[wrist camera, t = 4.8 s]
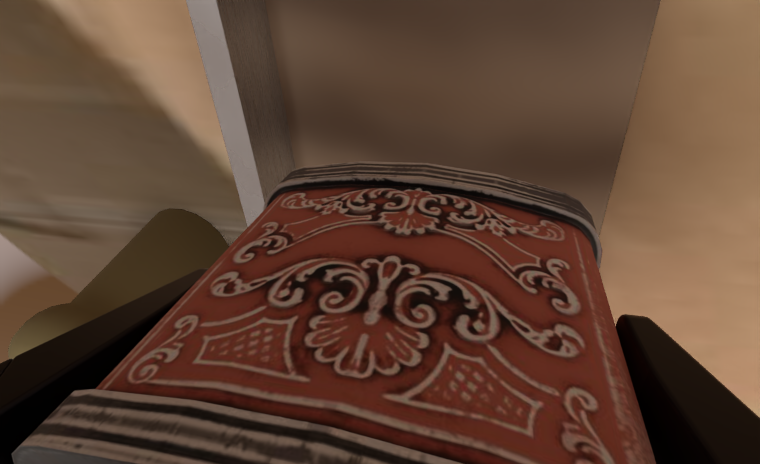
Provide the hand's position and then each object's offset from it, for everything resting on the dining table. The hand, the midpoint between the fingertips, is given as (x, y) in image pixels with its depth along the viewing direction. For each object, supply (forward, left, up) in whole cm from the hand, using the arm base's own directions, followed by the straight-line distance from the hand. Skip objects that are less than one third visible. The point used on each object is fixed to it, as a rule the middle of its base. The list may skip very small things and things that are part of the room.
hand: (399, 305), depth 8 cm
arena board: (+1, -1, -13) cm, 13 cm away
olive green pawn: (+9, -17, -13) cm, 24 cm away
